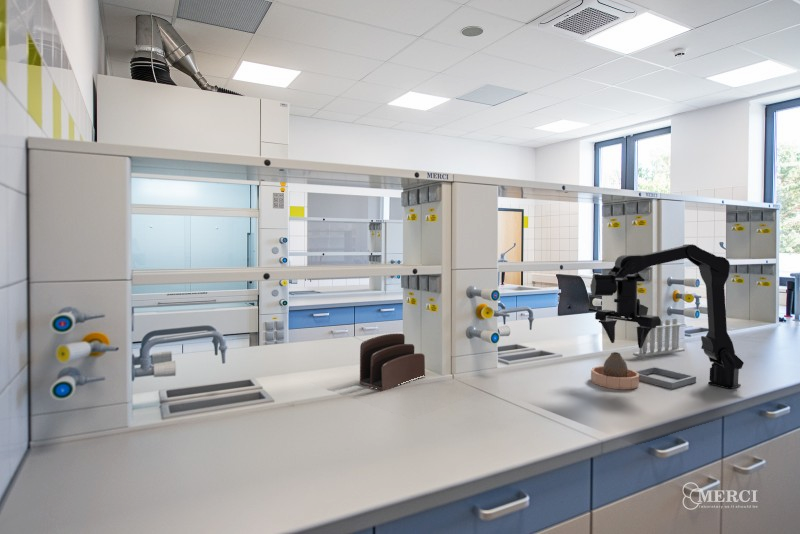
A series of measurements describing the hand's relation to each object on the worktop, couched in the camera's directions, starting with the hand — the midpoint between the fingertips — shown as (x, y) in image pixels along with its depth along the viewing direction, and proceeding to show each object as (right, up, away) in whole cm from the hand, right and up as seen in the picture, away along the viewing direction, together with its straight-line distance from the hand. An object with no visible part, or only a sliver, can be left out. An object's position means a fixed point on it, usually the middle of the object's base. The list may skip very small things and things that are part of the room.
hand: (626, 345), depth 150 cm
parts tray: (+13, -11, +3) cm, 17 cm away
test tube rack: (+32, -10, +40) cm, 53 cm away
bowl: (-4, -12, -1) cm, 12 cm away
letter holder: (-73, -12, 0) cm, 74 cm away
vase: (-4, -11, -1) cm, 12 cm away
